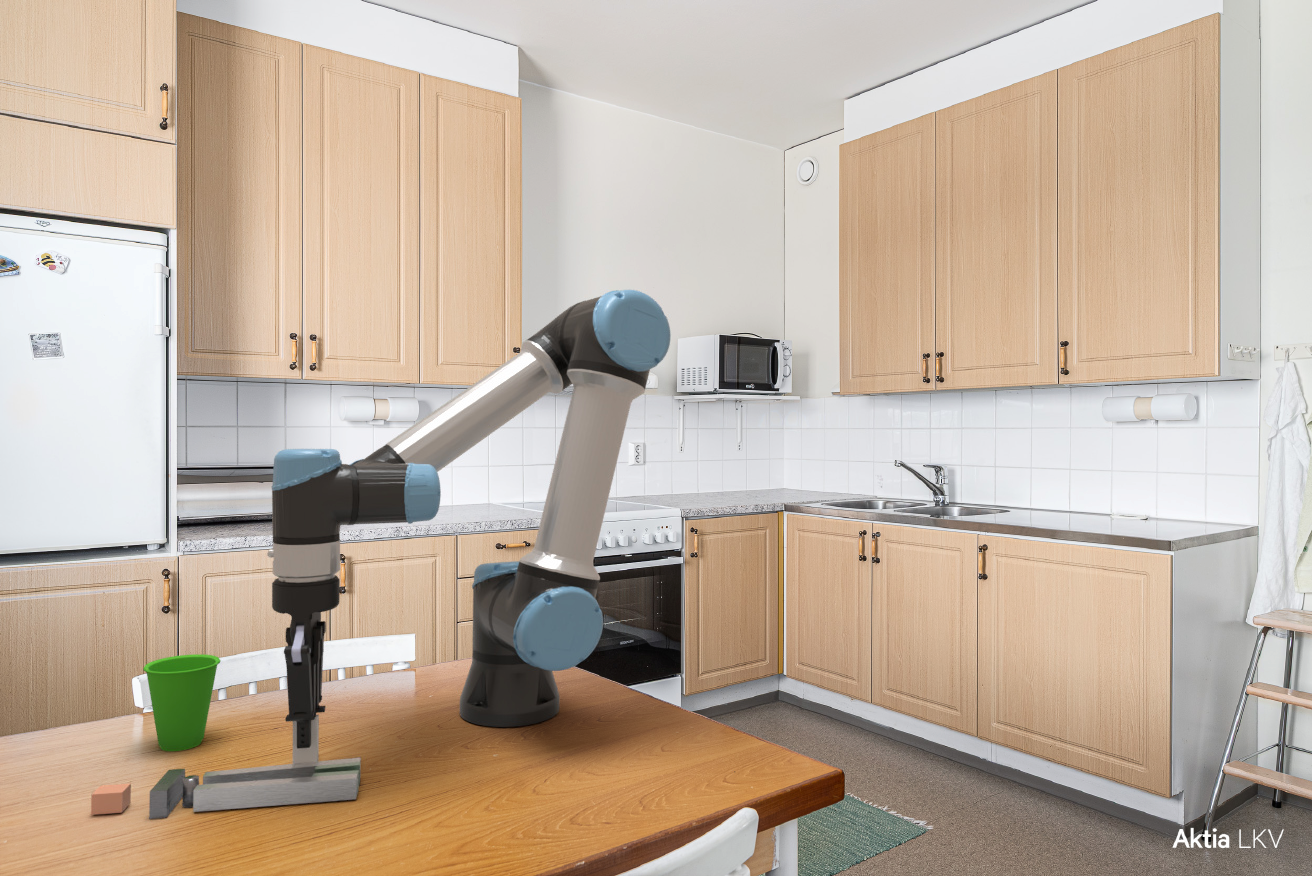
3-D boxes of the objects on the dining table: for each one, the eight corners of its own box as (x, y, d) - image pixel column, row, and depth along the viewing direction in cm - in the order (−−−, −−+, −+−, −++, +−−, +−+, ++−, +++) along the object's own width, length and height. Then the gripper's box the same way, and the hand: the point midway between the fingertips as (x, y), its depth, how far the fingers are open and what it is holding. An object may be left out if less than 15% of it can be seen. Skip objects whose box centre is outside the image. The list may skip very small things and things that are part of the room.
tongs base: (361, 781, 100) (361, 756, 100) (355, 802, 95) (355, 776, 95) (168, 795, 96) (168, 769, 96) (149, 818, 90) (149, 791, 90)
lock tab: (130, 802, 93) (130, 783, 93) (121, 812, 91) (122, 792, 91) (100, 805, 92) (100, 785, 92) (91, 814, 90) (91, 794, 90)
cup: (185, 760, 106) (186, 674, 106) (124, 753, 108) (126, 669, 108) (234, 735, 115) (235, 656, 115) (177, 730, 117) (179, 652, 117)
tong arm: (360, 777, 101) (360, 757, 101) (359, 784, 99) (359, 764, 99) (205, 792, 96) (205, 771, 96) (200, 801, 94) (201, 780, 94)
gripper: (284, 568, 105) (283, 752, 106) (259, 587, 93) (259, 796, 93) (346, 566, 107) (345, 748, 107) (330, 585, 94) (330, 790, 95)
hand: (305, 770), depth 100 cm, fingers closed
